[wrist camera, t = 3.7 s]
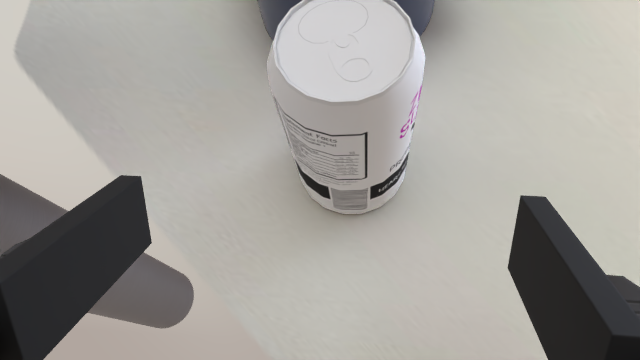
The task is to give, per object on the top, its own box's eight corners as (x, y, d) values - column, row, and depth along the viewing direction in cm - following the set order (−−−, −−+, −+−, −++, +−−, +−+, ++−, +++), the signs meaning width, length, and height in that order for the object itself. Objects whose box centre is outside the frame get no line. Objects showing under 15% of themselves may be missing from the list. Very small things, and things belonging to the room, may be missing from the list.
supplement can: (286, 142, 38) (241, 9, 24) (380, 109, 38) (389, -42, 24) (320, 232, 34) (289, 137, 21) (422, 194, 35) (459, 77, 21)
